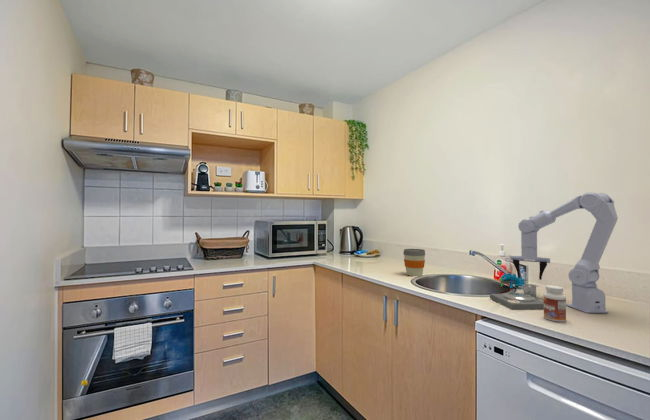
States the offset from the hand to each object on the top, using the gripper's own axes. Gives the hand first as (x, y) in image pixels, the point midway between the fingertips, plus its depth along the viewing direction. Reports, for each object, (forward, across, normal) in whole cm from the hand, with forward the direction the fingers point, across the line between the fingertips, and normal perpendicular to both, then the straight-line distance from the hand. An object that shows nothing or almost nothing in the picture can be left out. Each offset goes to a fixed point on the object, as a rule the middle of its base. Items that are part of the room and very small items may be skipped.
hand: (529, 278), depth 131 cm
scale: (+8, +4, +15) cm, 18 cm away
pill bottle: (+8, -7, +29) cm, 31 cm away
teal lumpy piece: (+8, +7, -16) cm, 19 cm away
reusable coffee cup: (+8, +56, -20) cm, 60 cm away
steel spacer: (+8, 0, 0) cm, 8 cm away
